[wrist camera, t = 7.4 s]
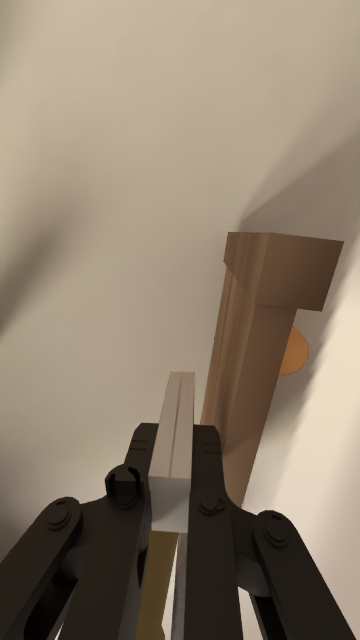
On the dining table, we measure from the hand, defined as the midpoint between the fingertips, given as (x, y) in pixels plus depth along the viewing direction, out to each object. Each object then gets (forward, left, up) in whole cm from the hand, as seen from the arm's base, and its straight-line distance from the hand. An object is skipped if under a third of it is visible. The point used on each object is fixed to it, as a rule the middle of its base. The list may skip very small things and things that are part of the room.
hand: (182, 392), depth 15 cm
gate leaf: (0, -3, -6) cm, 7 cm away
